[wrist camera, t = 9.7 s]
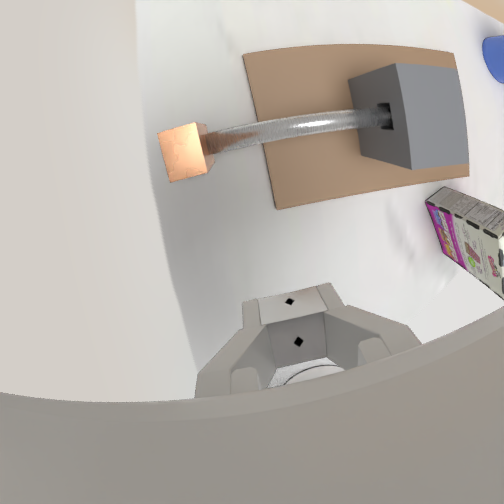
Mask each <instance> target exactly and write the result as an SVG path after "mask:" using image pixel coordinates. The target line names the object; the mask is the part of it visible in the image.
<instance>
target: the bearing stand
mask: <svg viewBox="0 0 504 504" xmlns="http://www.w3.org/2000/svg"><path fill="white" fill-rule="evenodd" d="M243 59H244V63H245V67H246V71H247V75H248V79H249V84H250V88H251V92H252V97H253V101H254V105H255V110H256V114H257V119H258V122H262V121H268V120H273V119H279V118H285V117H291V116H297V115H304V114H311V113H319V112H327V111H336V110H346V109H358V108H371V107H390V108H391V114H392V121H393V125H392V126H379V127H368V128H358V129H349V130H341V131H333V132H326V133H319V134H312V135H305V136H299V137H293V138H287V139H282V140H276V141H271V142H266V143H263V146H264V151H265V155H266V160H267V165H268V170H269V175H270V180H271V185H272V190H273V195H274V200H275V205H276V209H277V210H281V209H285V208H290V207H295V206H300V205H305V204H310V203H315V202H320V201H325V200H330V199H336V198H341V197H346V196H351V195H357V194H362V193H368V192H373V191H379V190H385V189H391V188H396V187H402V186H408V185H415V184H421V183H427V182H433V181H440V180H447V179H453V178H460V177H467V176H469V152H468V138H467V127H466V118H465V111H464V104H463V97H462V91H461V86H460V80H459V75H458V71H457V66H456V62H455V58H454V54H453V53H449V52H444V51H437V50H431V49H423V48H415V47H405V46H393V45H374V44H332V45H313V46H300V47H290V48H281V49H273V50H266V51H259V52H253V53H247V54H243Z"/></svg>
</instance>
